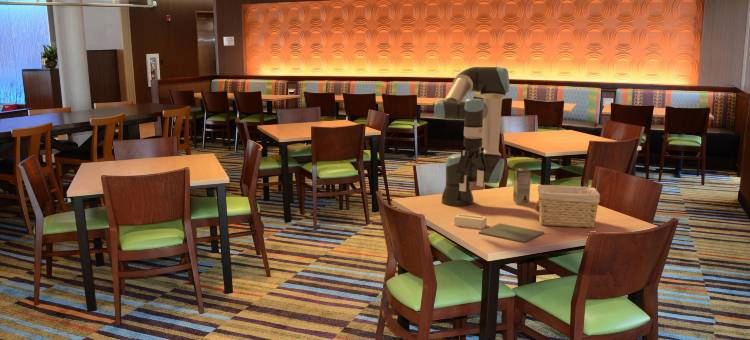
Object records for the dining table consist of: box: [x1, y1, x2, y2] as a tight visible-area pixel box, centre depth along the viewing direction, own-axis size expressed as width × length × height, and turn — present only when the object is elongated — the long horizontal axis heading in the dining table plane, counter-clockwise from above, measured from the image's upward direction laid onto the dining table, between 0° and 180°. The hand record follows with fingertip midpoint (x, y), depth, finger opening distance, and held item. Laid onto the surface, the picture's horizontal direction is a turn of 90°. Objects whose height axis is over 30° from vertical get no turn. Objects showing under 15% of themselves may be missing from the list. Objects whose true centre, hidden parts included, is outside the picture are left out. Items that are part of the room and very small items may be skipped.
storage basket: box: [537, 184, 601, 229], centre depth 275 cm, size 24×16×15 cm
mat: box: [478, 222, 545, 244], centre depth 260 cm, size 20×17×1 cm
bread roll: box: [534, 200, 539, 212], centre depth 296 cm, size 10×10×8 cm
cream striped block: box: [453, 213, 488, 230], centre depth 271 cm, size 12×6×4 cm, turn 63°
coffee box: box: [512, 167, 532, 206], centre depth 311 cm, size 9×6×16 cm
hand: (471, 188), depth 269 cm, fingers open, 13 cm apart
